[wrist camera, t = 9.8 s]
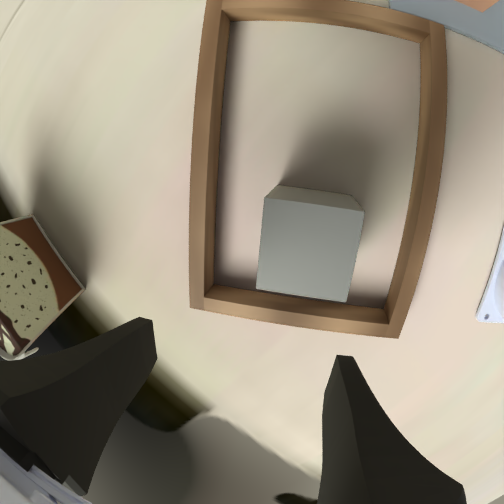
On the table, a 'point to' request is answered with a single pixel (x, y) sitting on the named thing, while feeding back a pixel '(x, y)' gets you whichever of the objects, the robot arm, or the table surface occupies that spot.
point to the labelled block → (478, 4)
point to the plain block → (309, 242)
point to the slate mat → (460, 18)
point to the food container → (30, 285)
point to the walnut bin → (207, 156)
